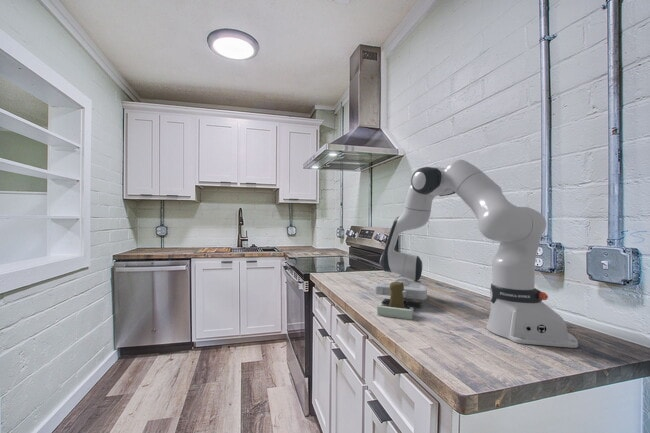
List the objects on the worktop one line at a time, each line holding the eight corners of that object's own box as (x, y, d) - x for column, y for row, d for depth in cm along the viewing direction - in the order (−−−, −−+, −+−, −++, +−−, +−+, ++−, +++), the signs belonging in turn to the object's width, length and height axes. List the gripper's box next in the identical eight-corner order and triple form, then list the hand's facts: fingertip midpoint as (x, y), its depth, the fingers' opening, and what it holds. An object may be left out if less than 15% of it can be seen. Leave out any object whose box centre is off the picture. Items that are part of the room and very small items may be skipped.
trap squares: (421, 303, 120) (421, 302, 120) (419, 308, 113) (419, 307, 113) (384, 299, 125) (384, 298, 125) (381, 303, 119) (381, 302, 119)
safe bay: (413, 315, 105) (413, 307, 105) (411, 319, 100) (411, 310, 100) (379, 311, 109) (379, 303, 109) (377, 314, 105) (377, 306, 105)
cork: (403, 309, 112) (403, 280, 112) (406, 314, 106) (406, 284, 106) (387, 309, 112) (387, 280, 112) (389, 314, 106) (389, 283, 106)
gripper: (378, 278, 127) (371, 284, 115) (428, 282, 119) (425, 289, 107) (378, 292, 127) (370, 300, 115) (428, 298, 119) (425, 307, 107)
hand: (397, 295), depth 111 cm, fingers closed, pressing on cork
